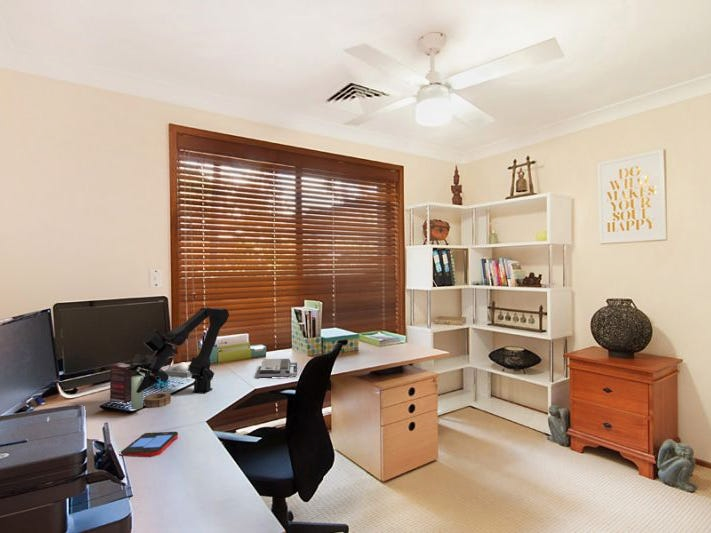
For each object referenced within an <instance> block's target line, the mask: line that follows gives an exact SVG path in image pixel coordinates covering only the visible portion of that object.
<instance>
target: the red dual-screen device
mask: <svg viewBox="0 0 711 533" xmlns="http://www.w3.org/2000/svg"><path fill="white" fill-rule="evenodd" d="M178 437H179V433H178V431H161V432H160V431H159V432H157V431H156V432H145V433H143V434H141V435H140V436H138V438H137V439H135V440H134V441H132V442H131V443H130V444H129V445H128V446H126V447H125V448H124V449H122V450H121V451H120V452H121V453H122V454H123V455H122V456H125V457H126V456H130V457H131V456H132V457H136V456H137V457H139V456H140V457H156V456H160V455H161V454H162V453H163V452H165V451H166V450H167V449H168V448H169V447H170V446H171V445H172V444H173V443H174V442H175V441H177V440H178Z"/></svg>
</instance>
